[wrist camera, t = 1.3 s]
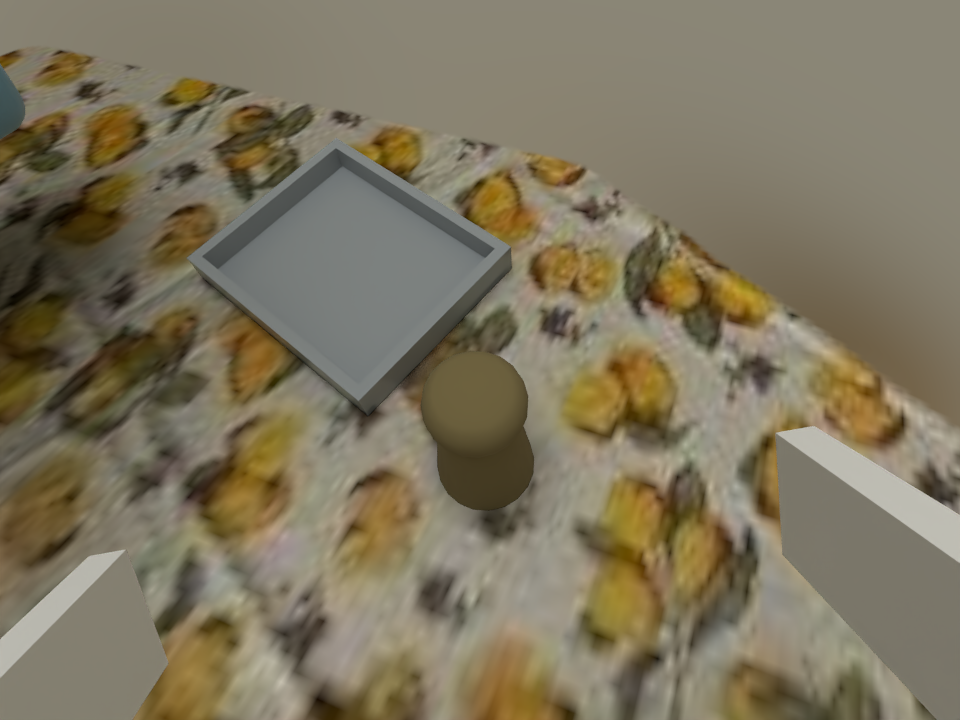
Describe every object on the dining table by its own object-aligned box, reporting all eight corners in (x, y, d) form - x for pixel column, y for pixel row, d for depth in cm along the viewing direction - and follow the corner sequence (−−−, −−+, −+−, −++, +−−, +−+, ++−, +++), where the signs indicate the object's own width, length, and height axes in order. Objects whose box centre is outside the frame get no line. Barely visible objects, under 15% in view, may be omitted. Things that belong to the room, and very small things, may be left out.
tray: (203, 278, 45) (186, 258, 43) (344, 161, 50) (336, 138, 48) (367, 416, 39) (358, 401, 37) (511, 268, 44) (510, 246, 41)
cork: (471, 400, 39) (453, 311, 29) (551, 446, 37) (561, 367, 27) (418, 478, 37) (380, 409, 27) (501, 530, 35) (493, 476, 25)
